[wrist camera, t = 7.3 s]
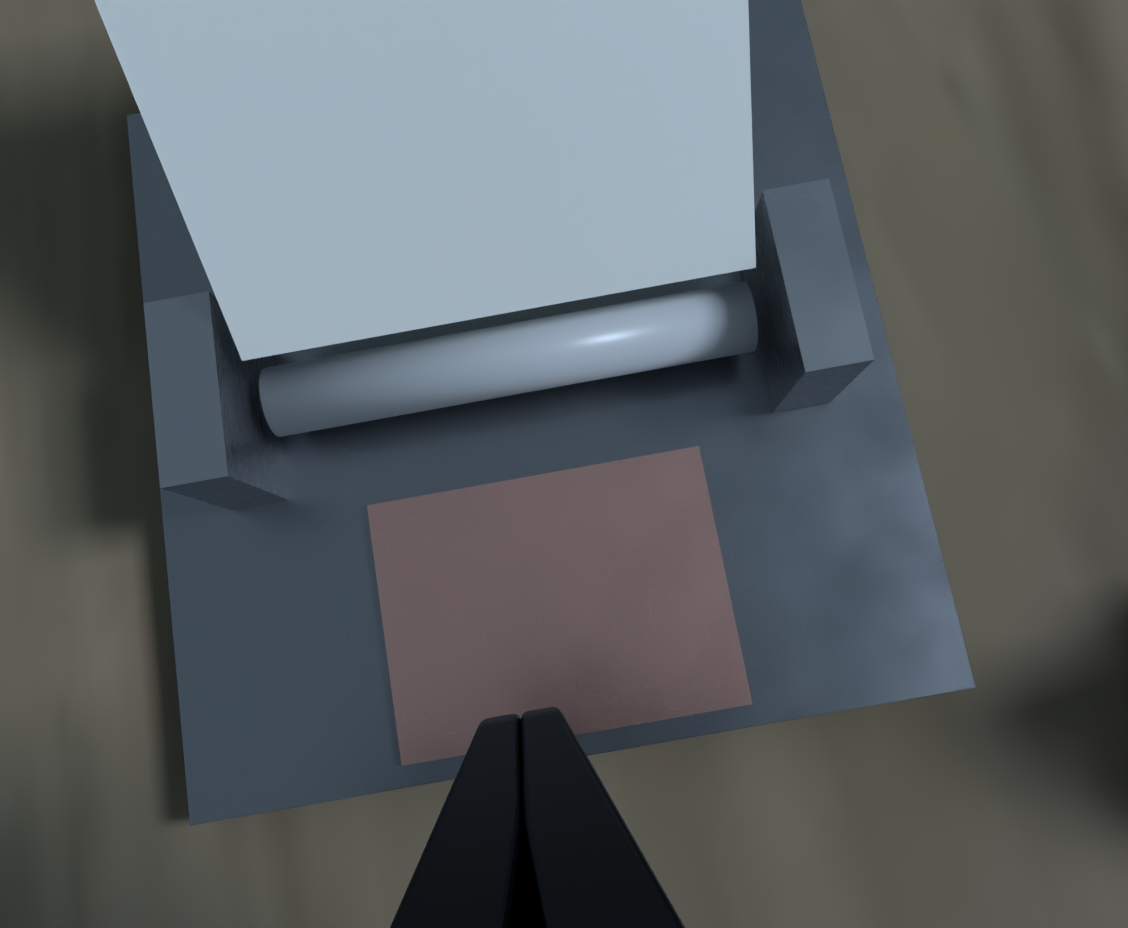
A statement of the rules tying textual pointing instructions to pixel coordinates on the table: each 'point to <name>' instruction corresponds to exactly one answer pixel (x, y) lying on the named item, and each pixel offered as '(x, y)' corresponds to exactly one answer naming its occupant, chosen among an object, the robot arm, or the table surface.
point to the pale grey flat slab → (453, 186)
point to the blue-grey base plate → (549, 517)
